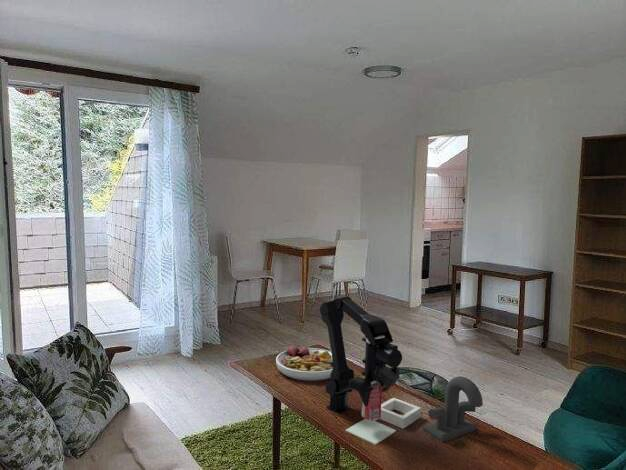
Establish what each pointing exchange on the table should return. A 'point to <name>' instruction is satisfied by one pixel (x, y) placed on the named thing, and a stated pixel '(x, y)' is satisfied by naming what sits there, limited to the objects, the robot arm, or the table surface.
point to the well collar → (410, 411)
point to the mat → (370, 431)
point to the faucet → (455, 411)
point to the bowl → (305, 363)
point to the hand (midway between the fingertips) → (371, 403)
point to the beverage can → (373, 403)
